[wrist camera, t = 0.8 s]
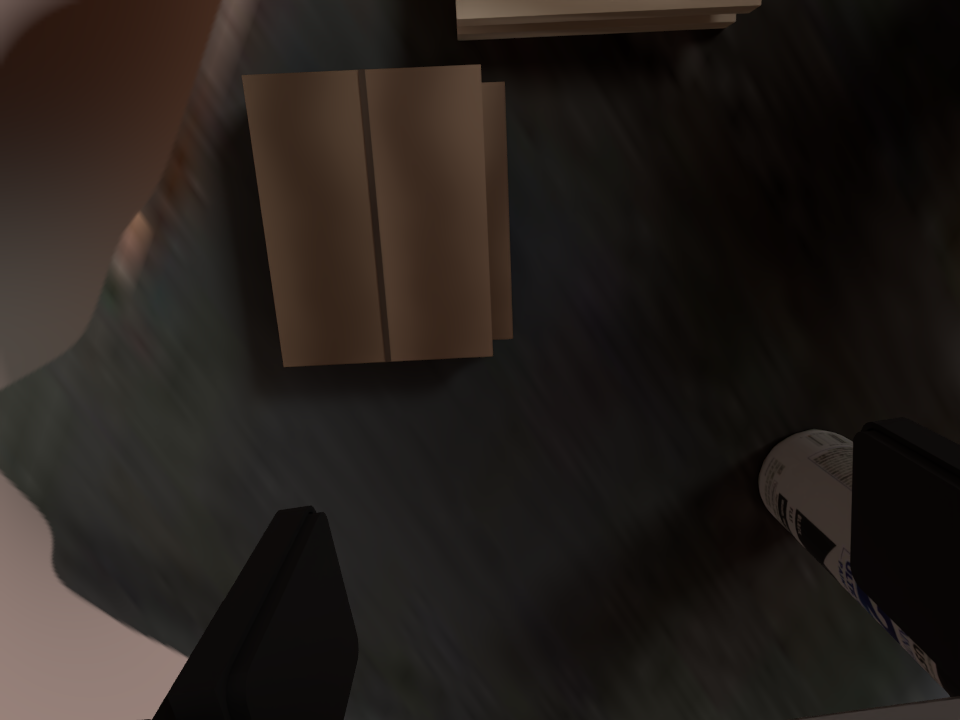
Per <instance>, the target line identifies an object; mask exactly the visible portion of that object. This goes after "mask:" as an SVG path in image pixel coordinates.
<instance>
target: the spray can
mask: <svg viewBox="0 0 960 720" xmlns="http://www.w3.org/2000/svg"><path fill="white" fill-rule="evenodd" d="M852 465H853V442H852V441H850V440H849V439H847V438H845V437H843V436H841V435H839V434H836V433H833V432H829V431H824V430H817V429H810V430H807V431H803V432H800V433H796V434H793V435H791V436H789V437H787V438H786V439H784V440H783V441H781V442H780V443H778V444H777V445H776V446H774V447H773V448H772V450H771V451H770V453H769V454H768V456H767V457H766V458H765V460H764V462H763V465H762V468H761V470H760V473H759V478H758V486H759V493H760V496H761V498H762V500H763V502H764V504H765V506H766V507H767V509H768V510H769V512H770V513H771V514H772V515H773V516H774V517H775V518H776V519H777V520H778V521H779V522H780V523H781V524H782V525H783V526H784V528H786V529H787V530H788V531H789V532H790V533H791V534H792V535H793V536H794V537H795V539H796V540H798V541H799V542H800V543H801V544H802V545H803V546H804V547H805V548H806V549H807V551H809V552H810V553H811V554H812V555H813V556H814V557H815V559H816V560H817V561H818V562H819V563H820V564H821V565H822V566H823V567H824V568H825V569H826V570H827V571H828V572H829V573H830V574H831V575H832V576H833V577H834V578H835V579H836V580H837V581H838V582H839V583H840V584H841V585H842V586H843V587H844V588H845V589H846V590H847V591H848V592H849V593H850V594H851V595H852V596H853V597H854V598H855V599H856V600H857V601H858V602H859V603H860V604H861V605H862V606H863V607H864V608H865V609H866V610H867V611H868V612H869V613H870V614H871V615H872V616H873V617H874V618H875V619H876V620H877V621H878V622H879V623H880V624H881V625H882V626H883V627H884V628H885V629H886V630H887V631H888V632H889V634H890V635H891V636H892V637H893V638H894V639H895V640H896V641H897V642H898V643H899V644H900V645H901V646H902V647H903V648H904V649H905V650H906V651H907V652H908V653H909V654H910V655H911V656H912V657H913V658H914V659H915V660H916V661H917V662H918V663H919V664H920V665H921V666H922V667H923V668H924V669H925V670H926V671H927V672H928V673H929V674H930V675H931V677H932V678H933V679H934V680H935V681H936V682H937V683H938V684H940V685H941V686H942V687H943V688H944V689H945V691H946V692H947V693H948V694H949V695H950V697H957V696H960V688H959V687H958V686H957V685H956V684H955V683H954V682H953V681H952V680H951V679H950V678H949V677H948V676H947V675H946V674H945V673H944V672H943V671H942V670H941V669H940V668H939V667H938V666H937V665H936V664H935V663H934V662H933V661H932V660H931V659H930V658H929V657H928V656H927V655H926V654H925V653H924V652H923V651H922V650H921V649H920V648H919V647H918V646H917V645H916V644H915V643H914V642H913V641H912V640H911V639H910V638H909V637H908V636H907V635H906V634H905V633H904V632H903V631H902V630H901V629H900V628H899V627H898V626H897V625H896V624H895V623H894V622H893V621H892V620H891V619H890V618H889V617H888V616H887V615H886V614H885V613H884V612H883V611H882V610H881V609H880V608H879V607H878V606H877V605H876V604H875V603H874V602H873V601H872V600H871V599H870V598H869V597H868V596H867V595H866V594H865V593H864V592H863V591H862V590H861V589H860V587H859V586H858V585H857V584H856V582H855V580H854V578H853V576H852V573H851V569H850V544H851V505H852Z"/></svg>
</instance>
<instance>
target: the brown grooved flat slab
mask: <svg viewBox="0 0 960 720" xmlns="http://www.w3.org/2000/svg"><path fill="white" fill-rule="evenodd" d="M242 80H243V87H244V94H245V101H246V108H247V115H248V122H249V129H250V136H251V143H252V150H253V157H254V164H255V171H256V178H257V185H258V192H259V199H260V206H261V212H262V219H263V226H264V233H265V240H266V247H267V254H268V261H269V268H270V275H271V282H272V289H273V296H274V303H275V310H276V317H277V324H278V331H279V338H280V345H281V352H282V359H283V366H284V367H295V366H315V365H334V364H353V363H372V362H392V361H411V360H430V359H449V358H468V357H488V356H493V345H492V340H498V339H513V325H512V294H511V263H510V232H509V201H508V169H507V138H506V107H505V82H485V83H481V64H479V65H457V66H435V67H413V68H391V69H369V70H365V69H362V70H347V71H325V72H303V73H281V74H259V75H242Z"/></svg>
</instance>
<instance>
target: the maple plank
mask: <svg viewBox="0 0 960 720" xmlns="http://www.w3.org/2000/svg"><path fill="white" fill-rule="evenodd" d="M760 5H761V0H456V18H457V37H458V41H462V40H484V39H505V38H526V37H547V36H569V35H590V34H611V33H632V32H654V31H675V30H696V29H717V28H726V27H728V26H729V25H731V24H732V23H734V22H736V14H738V13H750V12H751V11H753V10H754V9H756V8H757V7H759V6H760Z"/></svg>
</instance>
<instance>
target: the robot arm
mask: <svg viewBox="0 0 960 720" xmlns="http://www.w3.org/2000/svg"><path fill="white" fill-rule="evenodd" d="M850 569H851V573H852V576H853V578H854V580H855V582H856V584H857V585H858V586H859V587H860V589H861V590H862V591H863V592H864V593H865V594H866V595H867V596H868V597H869V598H870V599H871V600H872V601H873V602H874V603H875V604H876V605H877V606H878V607H879V608H880V609H881V610H882V611H883V612H884V613H885V614H886V615H887V616H888V617H889V618H890V619H891V620H892V621H893V622H894V623H895V624H896V625H897V626H898V627H899V628H900V629H901V630H902V631H903V632H904V633H905V634H906V635H907V636H908V637H909V638H910V639H911V640H912V641H913V642H914V643H915V644H916V645H917V646H918V647H919V648H920V649H921V650H922V651H923V652H924V653H925V654H926V655H927V656H928V657H929V658H930V659H931V660H932V661H933V662H934V663H935V664H936V665H937V666H938V667H939V668H940V669H941V670H942V671H943V672H944V673H945V674H946V675H947V676H948V677H949V678H950V679H951V680H952V681H953V682H954V683H955V684H956V685H957V686H958V687H959V688H960V445H959V444H957V443H955V442H953V441H951V440H949V439H947V438H945V437H943V436H941V435H939V434H937V433H935V432H933V431H931V430H929V429H927V428H925V427H923V426H921V425H919V424H917V423H915V422H913V421H911V420H909V419H907V418H903V417H902V418H895V419H888V420H882V421H875V422H868V423H866V424H865V425H864V426H863V428H862V430H861V432H858V433H857V434H856V435H855V437H854V440H853V465H852V505H851V544H850ZM357 660H358V638H357V633H356V629H355V625H354V621H353V617H352V613H351V609H350V606H349V602H348V598H347V594H346V590H345V586H344V582H343V578H342V574H341V570H340V566H339V562H338V558H337V554H336V551H335V547H334V543H333V539H332V535H331V531H330V527H329V523H328V519H327V516H326V515H325V513H324V512H320V513H316V511H315V509H314V507H312V506H305V507H298V508H291V509H285V510H279V511H278V512H277V513H276V514H275V516H274V518H273V519H272V521H271V523H270V524H269V526H268V528H267V529H266V531H265V533H264V534H263V536H262V538H261V539H260V541H259V543H258V544H257V546H256V548H255V549H254V551H253V553H252V554H251V556H250V558H249V560H248V561H247V563H246V565H245V566H244V568H243V570H242V571H241V573H240V575H239V576H238V578H237V580H236V581H235V583H234V585H233V586H232V588H231V590H230V591H229V593H228V595H227V596H226V598H225V600H224V601H223V602H222V604H221V605H220V607H219V609H218V610H217V612H216V614H215V615H214V617H213V619H212V620H211V622H210V624H209V625H208V627H207V629H206V630H205V632H204V634H203V635H202V637H201V639H200V640H199V642H198V644H197V645H196V647H195V649H194V650H193V652H192V654H191V655H190V657H189V659H188V660H187V662H186V664H185V665H184V667H183V669H182V670H181V672H180V674H179V675H178V677H177V679H176V680H175V682H174V684H173V685H172V687H171V689H170V691H169V692H168V694H167V696H166V697H165V699H164V700H163V702H162V704H161V705H160V707H159V709H158V711H157V712H156V714H155V716H154V717H153V719H152V720H344V716H345V711H346V707H347V703H348V699H349V694H350V690H351V686H352V682H353V677H354V673H355V669H356V665H357ZM146 720H150V719H146ZM788 720H960V696H957V697H949V698H942V699H934V700H927V701H920V702H912V703H905V704H897V705H890V706H883V707H875V708H868V709H860V710H853V711H846V712H839V713H831V714H824V715H817V716H810V717H802V718H795V719H788Z"/></svg>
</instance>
